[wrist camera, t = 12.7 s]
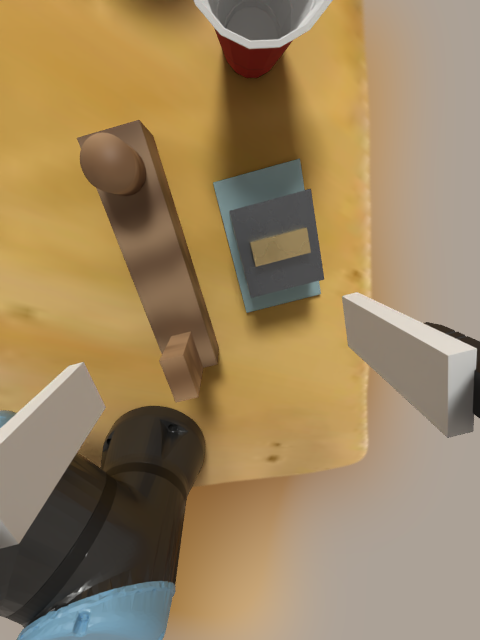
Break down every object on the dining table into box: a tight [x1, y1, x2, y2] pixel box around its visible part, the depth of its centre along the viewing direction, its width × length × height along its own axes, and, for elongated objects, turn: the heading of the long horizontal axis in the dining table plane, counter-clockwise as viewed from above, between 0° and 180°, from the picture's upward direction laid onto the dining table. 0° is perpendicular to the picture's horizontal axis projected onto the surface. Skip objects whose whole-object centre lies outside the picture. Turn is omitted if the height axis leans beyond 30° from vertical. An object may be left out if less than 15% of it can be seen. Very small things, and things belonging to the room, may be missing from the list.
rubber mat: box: [213, 159, 321, 313], centre depth 34 cm, size 16×10×1 cm, turn 14°
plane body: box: [77, 120, 219, 402], centre depth 29 cm, size 26×6×11 cm, turn 14°
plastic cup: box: [194, 0, 332, 78], centre depth 22 cm, size 11×11×12 cm
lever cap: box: [229, 189, 324, 298], centre depth 30 cm, size 9×8×7 cm
